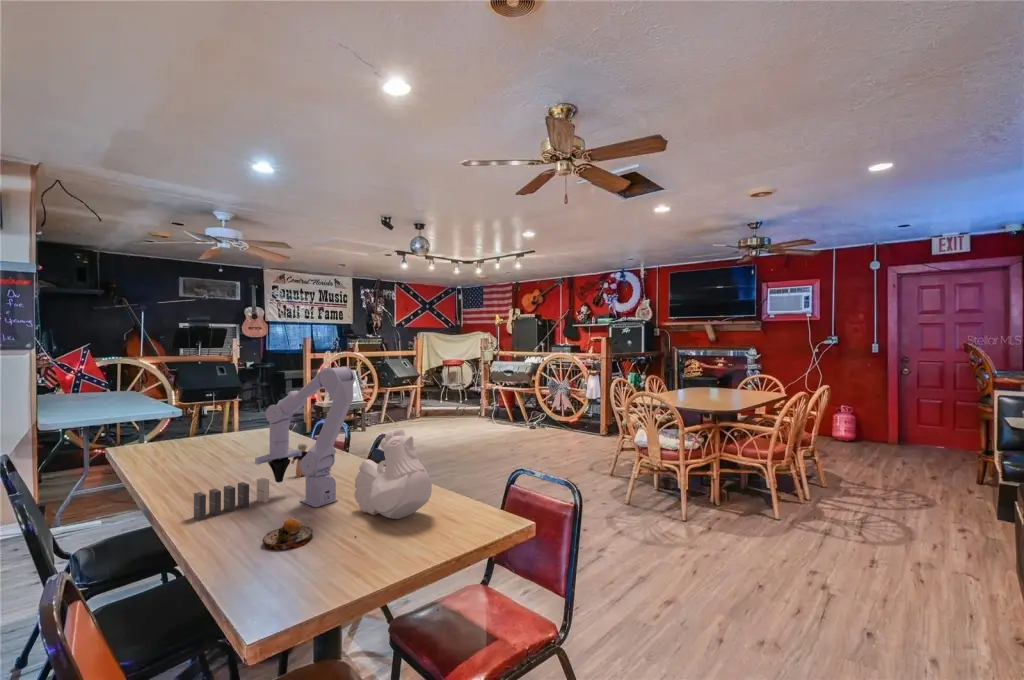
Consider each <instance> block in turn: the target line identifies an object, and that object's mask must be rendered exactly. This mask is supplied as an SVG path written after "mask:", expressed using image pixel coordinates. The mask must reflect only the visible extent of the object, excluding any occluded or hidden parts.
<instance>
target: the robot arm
mask: <svg viewBox="0 0 1024 680" xmlns="http://www.w3.org/2000/svg"><path fill="white" fill-rule="evenodd" d="M355 381H356V376H355V374H354V372H353V370H352V369H351V368H350V367H349V366H346V365H345V366H344V365H343V366H339V367H325V368H323V369H322V370H321V371H319V372H317V373H316V375H315V376H314V377H313V378H312V379H310V381H309V382H307V383H306V384H305V385H304V386H303V387H302V388H301V389H299V390H292V391H289V392H287V396H285V397H284V398H282V399H280V400H278V402H277V404H270V405H269V406H268V407H267V408H266V410H265V418H266V421H268V422H269V453H268V454H264V455H261V456H257V457H254V458H255V460H254V464H255V465H262V464H266V463H267V464H268V465H269V467H270V469H271V470H272V473H273V477H274V480H275V482H276V483H283V481H284V477H285V473H286V471H287V469H288V467H289V465H291V459H290V458H293V457H295V456H302V450H299V449H298V448H297V449H293V450H290V448H289V447H290V444H289V443H290V424H291V419H292V418H293V416H294V414H295V413H296V412H298V410H300V409H301V408H302V407H304V406H305V405H306V404H307V399H308V398H310V397H311V396H312V395H314V394H316V393H317V392H319V391H320V390H322V389H324V390H325V391H326V392H327V394H328V395H329V396H330V397H331V398H332V402H331V405H330V407H329V410H328V412H327V415H326V417H325V419H324V422H323V424H322V427H321V430H320V431H319V434H318V436H317V439H316V442H315V443H314V444H313V445H312V446H311V447H310V448H309V449H308V450H307V451H306V452H307V454H306V456H305V457H303V458H302V460H301V462H300V468H301V470H302V472H303V473H304V476H303V477H305V497H304V498H302V499H299V502H301V503H303V504H306V505H309V506H311V507H312V508H313V507H314V508H318V507H322V506H325V505H328V504H331V503H335V502H338V501H339V498H336V495H337V494H336V492H337V491H336V489H337V488H336V487H337V483H336V479H335V478H334V477H333V476H332V475H331V471H332V467H333V465H334V464H335V461H336V460H335V459H336V457H335V455H336V453H337V450H336V448H335V447H334V446H335V443H336V441H337V439H338V436H339V434H340V431H341V429H342V427H343V424H344V422H345V419H346V417H347V414H348V412H349V409H350V407H351V404H352V402H353V400H354V382H355Z"/></svg>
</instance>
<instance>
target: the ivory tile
mask: <svg viewBox="0 0 1024 680" xmlns="http://www.w3.org/2000/svg"><path fill="white" fill-rule="evenodd" d="M256 502H259V503H263V504H264V503H268V502H270V479H267V478H264V477H258V478H257V479H256Z"/></svg>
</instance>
